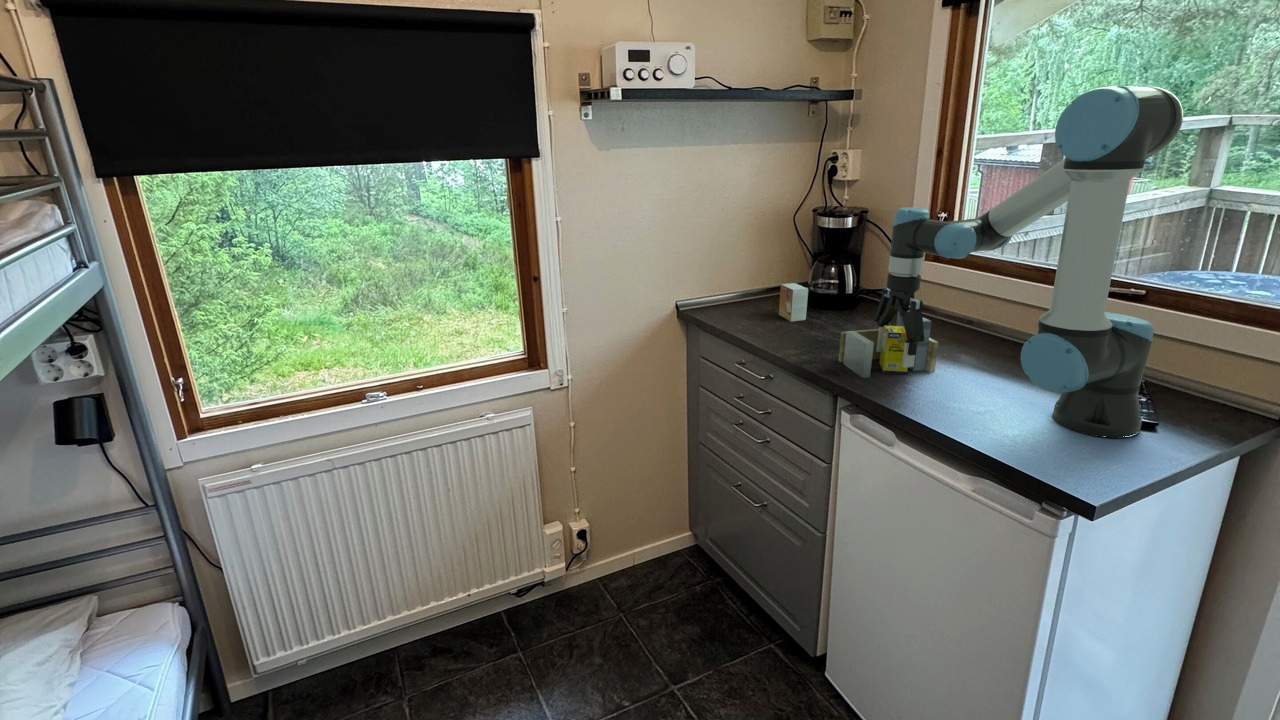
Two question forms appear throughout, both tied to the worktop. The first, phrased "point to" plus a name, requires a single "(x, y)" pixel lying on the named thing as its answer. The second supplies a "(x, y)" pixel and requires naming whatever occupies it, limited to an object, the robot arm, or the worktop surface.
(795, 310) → the small box
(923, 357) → the rack
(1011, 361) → the worktop surface
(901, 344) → the supplement box
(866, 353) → the bookend
